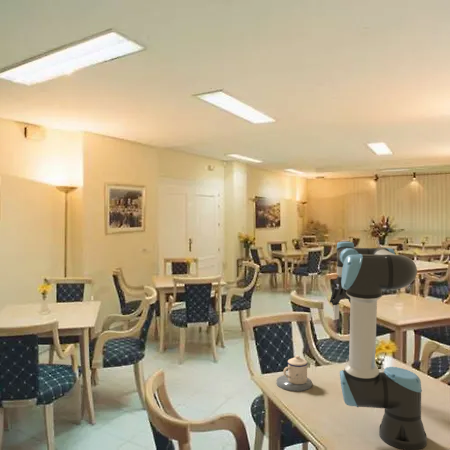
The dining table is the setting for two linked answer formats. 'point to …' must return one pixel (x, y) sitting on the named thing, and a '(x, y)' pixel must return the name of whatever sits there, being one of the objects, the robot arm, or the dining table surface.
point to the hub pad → (286, 385)
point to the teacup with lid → (296, 370)
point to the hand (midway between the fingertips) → (345, 322)
